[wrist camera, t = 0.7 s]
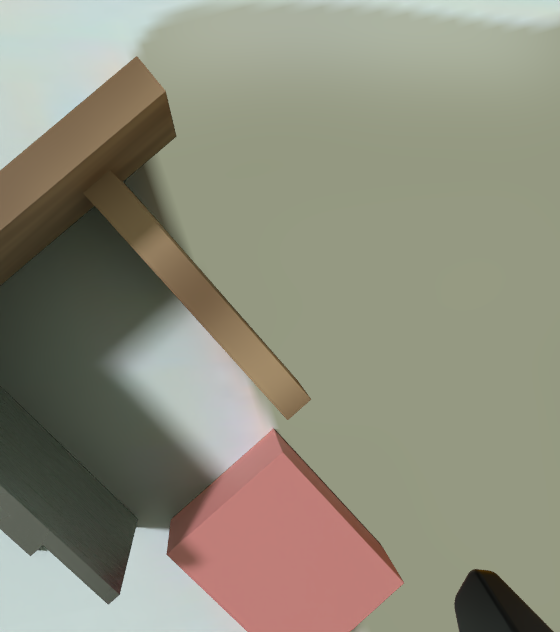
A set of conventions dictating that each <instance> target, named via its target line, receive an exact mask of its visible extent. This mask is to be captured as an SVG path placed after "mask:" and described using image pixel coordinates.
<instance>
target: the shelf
mask: <svg viewBox="0 0 560 632" xmlns="http://www.w3.org/2000/svg"><path fill="white" fill-rule="evenodd" d="M175 137H176V133H175V129H174V124H173V120H172V116H171V112H170V108H169V103H168V99H167V95H166V91H165V90H164V89H163V87H162V86H161V85H160V84H159V83H158V81H157V80H156V79H155V78H154V77H153V75H152V74H151V73H150V72H149V70H148V69H147V68H146V67H145V65H144V64H143V63H142V62H141V61H140V59H139V58H138V57H137V56H136V57H135V58H134V59H133V60H131V61H130V62H129V63H128V64H127V65H126V66H124V67H123V68H122V69H121V70H120V71H118V72H117V73H116V74H115V75H114V76H112V77H111V78H110V79H109V80H108V81H106V82H105V83H104V84H103V85H102V86H100V87H99V88H98V89H97V90H96V91H95V92H93V93H92V94H91V95H90V96H89V97H87V98H86V99H85V100H84V101H83V102H81V103H80V104H79V105H78V106H77V107H75V108H74V109H73V110H72V111H71V112H70V113H68V114H67V115H66V116H65V117H64V118H62V119H61V120H60V121H59V122H58V123H56V124H55V125H54V126H53V127H52V128H50V129H49V130H48V131H47V132H46V133H45V134H43V135H42V136H41V137H40V138H39V139H37V140H36V141H35V142H34V143H33V144H31V145H30V146H29V147H28V148H27V149H25V150H24V151H23V152H22V153H21V154H19V155H18V156H17V157H16V158H15V159H14V160H12V161H11V162H10V163H9V164H8V165H6V166H5V167H4V168H3V169H2V170H0V286H1V285H2V284H3V283H4V282H5V281H7V280H8V279H9V278H10V277H11V276H12V275H14V274H15V273H16V272H17V271H18V270H19V269H21V268H22V267H23V266H24V265H25V264H27V263H28V262H29V261H30V260H31V259H32V258H34V257H35V256H36V255H37V254H38V253H40V252H41V251H42V250H43V249H44V248H45V247H47V246H48V245H49V244H50V243H51V242H53V241H54V240H55V239H56V238H57V237H58V236H60V235H61V234H62V233H63V232H64V231H65V230H67V229H68V228H69V227H70V226H71V225H73V224H74V223H75V222H76V221H77V220H78V219H80V218H81V217H82V216H83V215H84V214H86V213H87V212H88V211H89V210H90V209H91V208H93V207H94V206H95V207H96V208H97V209H98V210H99V211H100V212H101V214H102V215H103V216H104V217H105V218H106V219H107V220H108V221H109V222H110V224H111V225H112V226H113V227H114V228H115V229H116V230H117V231H118V232H119V233H120V235H121V236H122V237H123V238H124V239H125V240H126V241H127V242H128V243H129V245H130V246H131V247H132V248H133V249H134V250H135V251H136V252H137V253H138V255H139V256H140V257H141V258H142V259H143V260H144V261H145V262H146V263H147V265H148V266H149V267H150V268H151V269H152V270H153V271H154V272H155V273H156V275H157V276H158V277H159V278H160V279H161V280H162V281H163V282H164V283H165V285H166V286H167V287H168V288H169V289H170V290H171V291H172V292H173V293H174V295H175V296H176V297H177V298H178V299H179V300H180V301H181V302H182V303H183V305H184V306H185V307H186V308H187V309H188V310H189V311H190V312H191V313H192V315H193V316H194V317H195V318H196V319H197V320H198V321H199V322H200V323H201V325H202V326H203V327H204V328H205V329H206V330H207V331H208V332H209V333H210V335H211V336H212V337H213V338H214V339H215V340H216V341H217V342H218V343H219V345H220V346H221V347H222V348H223V349H224V350H225V351H226V352H227V353H228V354H229V356H230V357H231V358H232V359H233V360H234V361H235V362H236V363H237V364H238V366H239V367H240V368H241V369H242V370H243V371H244V372H245V373H246V374H247V376H248V377H249V378H250V379H251V380H252V381H253V382H254V383H255V384H256V386H257V387H258V388H259V389H260V390H261V391H262V392H263V393H264V394H265V396H266V397H267V398H268V399H269V400H270V401H271V402H272V403H273V404H274V405H275V407H276V408H277V409H278V410H279V411H280V412H281V413H282V414H283V416H284V417H285V418H286V419H287V420H288V419H289V418H291V417H292V416H293V415H294V414H295V413H296V412H297V411H299V410H300V409H301V408H302V407H303V406H304V405H305V404H307V403H308V401H310V400H311V398H310V397H309V396H308V394H307V393H306V392H305V390H304V389H303V387H302V386H301V385H300V383H299V382H298V381H297V379H296V378H295V377H294V376H293V375H292V374H291V373H290V371H289V370H288V369H287V368H286V367H285V366H284V364H283V363H282V362H281V361H280V360H279V359H278V358H277V357H276V355H275V354H273V352H272V351H271V350H270V349H269V348H268V347H267V345H266V344H265V343H264V342H263V341H262V339H261V338H260V337H259V336H258V335H257V334H256V333H255V332H254V330H253V329H252V328H251V327H250V326H249V325H248V323H247V322H246V321H245V320H244V319H243V318H242V317H241V316H240V314H239V313H238V312H237V311H236V310H235V309H234V308H233V307H232V305H231V304H230V303H229V302H228V301H227V300H226V298H225V297H224V296H223V295H222V294H221V293H220V292H219V290H218V289H217V288H216V287H215V286H214V285H213V284H212V282H211V281H210V280H209V279H208V278H207V277H206V276H205V275H204V273H203V272H202V271H201V270H200V269H199V268H198V266H197V265H196V264H195V263H194V262H193V261H192V260H191V259H190V257H189V256H188V255H187V254H186V253H185V252H184V251H183V249H182V248H181V247H180V246H179V245H178V244H177V243H176V241H175V240H174V239H173V238H172V237H171V236H170V235H169V233H168V232H167V231H166V230H165V229H164V228H163V227H162V225H161V224H160V223H159V222H158V221H157V220H156V219H155V217H154V216H153V215H152V214H151V213H150V212H149V211H148V210H147V208H146V207H145V206H144V205H143V204H142V203H141V202H140V200H139V199H138V198H137V197H136V196H135V195H134V194H133V192H132V191H131V190H130V189H129V188H128V187H127V186H126V184H125V183H124V182H123V181H124V180H126V179H127V178H128V177H129V176H130V175H132V174H133V173H134V172H135V171H136V170H137V169H139V168H140V167H141V166H142V165H143V164H144V163H146V162H147V161H148V160H149V159H150V158H152V157H153V156H154V155H155V154H156V153H157V152H159V151H160V150H161V149H162V148H163V147H165V146H166V145H167V144H168V143H169V142H170V141H172V140H173V139H174V138H175ZM137 521H138V519H137V518H136V517H135V516H134V515H133V514H132V513H131V512H130V511H129V510H128V509H127V508H125V507H124V506H123V505H122V504H121V503H120V502H119V501H118V500H117V499H116V498H115V497H114V496H113V495H112V494H111V493H110V492H109V491H108V490H107V489H106V488H105V487H104V486H103V485H102V484H101V483H100V482H99V481H98V480H97V479H96V478H95V477H93V476H92V475H91V474H90V473H89V472H88V471H87V470H86V469H85V468H84V467H83V466H82V465H81V464H80V463H79V462H78V461H77V460H76V459H75V458H74V457H73V456H72V455H71V454H70V453H69V452H68V451H67V450H66V449H65V448H64V447H63V446H61V445H60V444H59V443H58V442H57V441H56V440H55V439H54V438H53V437H52V436H51V435H50V434H49V433H48V432H47V431H46V430H45V429H44V428H43V427H42V426H41V425H40V424H39V423H38V422H37V421H36V420H35V419H34V418H33V417H32V416H31V415H29V414H28V413H27V412H26V411H25V410H24V409H23V408H22V407H21V406H20V405H19V404H18V403H17V402H16V401H15V400H14V399H13V398H12V397H11V396H10V395H9V394H8V393H7V392H6V391H5V390H4V389H3V388H2V387H1V386H0V529H1V530H2V531H3V532H4V533H5V534H6V535H8V536H9V537H10V538H11V539H12V540H13V541H14V542H15V543H16V544H18V545H19V546H20V547H21V548H22V549H23V550H24V551H25V552H26V553H28V554H29V555H30V556H31V555H32V554H34V553H35V552H36V551H37V550H38V549H39V548H40V547H42V546H44V547H46V548H47V549H48V550H49V551H50V552H51V553H52V554H53V555H54V556H55V557H57V558H58V559H59V560H60V561H61V562H62V563H63V564H64V565H65V566H66V567H68V568H69V569H70V570H71V571H72V572H73V573H74V574H75V575H76V576H77V577H79V578H80V579H81V580H82V581H83V582H84V583H85V584H86V585H87V586H88V587H90V588H91V589H92V590H93V591H94V592H95V593H96V594H97V595H98V596H99V597H101V598H102V599H103V600H104V601H105V602H106V603H107V604H110V603H111V602H112V601H113V600H114V599H115V598H116V597H118V596H119V595H120V591H121V587H122V583H123V578H124V574H125V570H126V566H127V562H128V558H129V554H130V550H131V546H132V541H133V537H134V533H135V529H136V525H137Z"/></svg>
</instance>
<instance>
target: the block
mask: <svg viewBox="0 0 560 632" xmlns="http://www.w3.org/2000/svg"><path fill="white" fill-rule="evenodd" d="M167 555H168V556H169V557H170V558H171V559H172V560H173V561H174V562H175V563H176V564H177V565H178V566H179V567H180V568H181V569H182V570H183V571H184V572H185V573H187V574H188V575H189V576H190V577H191V578H192V579H193V580H194V581H195V582H196V583H197V584H198V585H199V586H200V587H201V588H202V589H203V590H204V591H205V592H206V593H207V594H209V595H210V596H211V597H212V598H213V599H214V600H215V601H216V602H217V603H218V604H219V605H220V606H221V607H222V608H223V609H224V610H225V611H226V612H227V613H228V614H230V615H231V616H232V617H233V618H234V619H235V620H236V621H237V622H238V623H239V624H240V625H241V626H242V627H243V628H244V629H245V630H246V631H247V632H350V631H351V630H353V629H354V628H355V627H356V626H357V625H358V624H359V623H360V622H361V621H362V620H364V619H365V618H366V617H367V616H368V615H369V614H370V613H371V612H372V611H374V610H375V609H376V608H377V607H378V606H379V605H380V604H381V603H382V602H384V601H385V599H387V598H388V597H389V596H390V595H391V594H392V593H393V592H395V591H396V589H398V588H399V587H400V586H401V585H402V584H403V583H404V582H403V580H402V579H401V577H400V575H399V574H398V572H397V570H396V569H395V567H394V565H393V564H392V562H391V560H390V559H389V557H388V555H387V554H386V552H385V550H384V549H383V547H382V545H381V544H380V542H379V541H378V540H377V539H376V538H375V537H374V536H373V535H372V534H371V533H370V532H369V531H368V530H367V528H366V527H365V526H364V525H363V524H362V523H361V522H360V521H359V520H358V519H357V518H356V517H355V515H354V514H353V513H352V512H351V511H350V510H349V509H348V508H347V507H346V506H345V505H344V503H342V501H341V500H340V499H339V498H338V497H337V496H336V495H335V494H334V493H333V491H332V490H331V489H329V487H328V486H327V485H326V484H325V483H324V482H323V481H322V480H321V478H320V477H318V475H317V474H316V473H315V472H314V471H313V470H312V469H311V468H310V467H309V466H308V464H307V463H306V462H305V461H304V460H303V459H302V458H301V457H300V456H299V455H298V454H297V452H296V451H295V450H294V449H293V448H292V447H291V446H290V445H289V444H288V443H287V442H286V441H285V439H284V438H283V437H282V436H281V435H280V434H279V433H278V432H277V431H276V430H274V429H273V430H271V431H270V432H269V433H268V434H267V435H266V436H265V437H264V438H262V439H261V440H260V441H259V442H258V443H257V444H256V445H254V446H253V447H252V448H251V449H250V450H249V451H248V452H247V453H245V454H244V455H243V456H242V457H241V458H240V459H239V460H238V461H236V462H235V463H234V464H233V465H232V466H231V467H230V468H228V469H227V470H226V471H225V472H224V473H223V474H222V475H221V476H219V477H218V478H217V479H216V480H215V481H214V482H213V483H212V484H210V485H209V486H208V487H207V488H206V489H205V490H204V491H202V492H201V493H200V494H199V495H198V496H197V497H196V498H195V499H193V500H192V501H191V502H190V503H189V504H188V505H187V506H186V507H184V508H183V509H182V510H181V511H180V512H179V513H178V514H177V515H175V516H174V517H173V518H172V519H171V523H170V531H169V539H168V548H167Z"/></svg>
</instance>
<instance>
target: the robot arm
mask: <svg viewBox="0 0 560 632" xmlns="http://www.w3.org/2000/svg"><path fill="white" fill-rule="evenodd" d="M455 612H456V618H457V623H458V627H459V632H553V631H552V630H551V629H550V628H549V627H548V626H547V625H546V624H545V623H544V622H543V620H541V618H540V617H539V616H538V615H537V614H535V613H534V611H533V610H532V609H531V608H530V607H529V606H528V605H527V604H526V603H525V602H524V601H523V600H522V599H521V598H520V597H519V596H518V595H517V594H516V593H515V592H514V591H513V590H512V589H511V588H510V587H509V586H508V585H507V584H506V583H505V582H504V581H503V580H502V579H501V578H500V577H499V576H498V575H497V574H496V573H494V572H492V571H488V570H479V569H474V570H472V571H470V572H469V574H468V575H467V577H466V579H465V581H464V582H463V584H462V586H461V587H460V589H459V591H458V593H457V595H456V598H455Z"/></svg>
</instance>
